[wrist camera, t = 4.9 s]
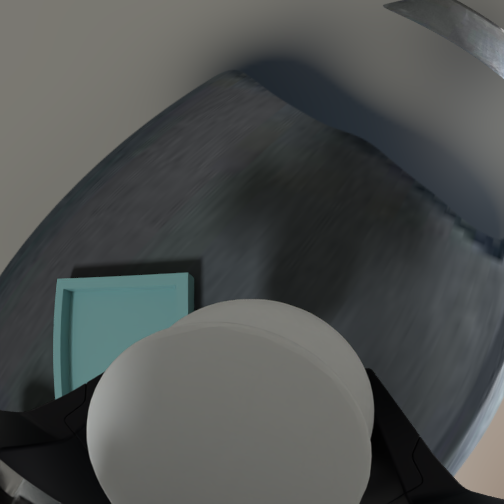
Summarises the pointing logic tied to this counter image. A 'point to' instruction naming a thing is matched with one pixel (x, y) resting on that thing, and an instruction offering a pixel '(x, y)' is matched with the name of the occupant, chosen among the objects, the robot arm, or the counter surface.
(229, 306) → the supplement bottle
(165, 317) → the tray
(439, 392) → the counter surface
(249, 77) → the counter surface
